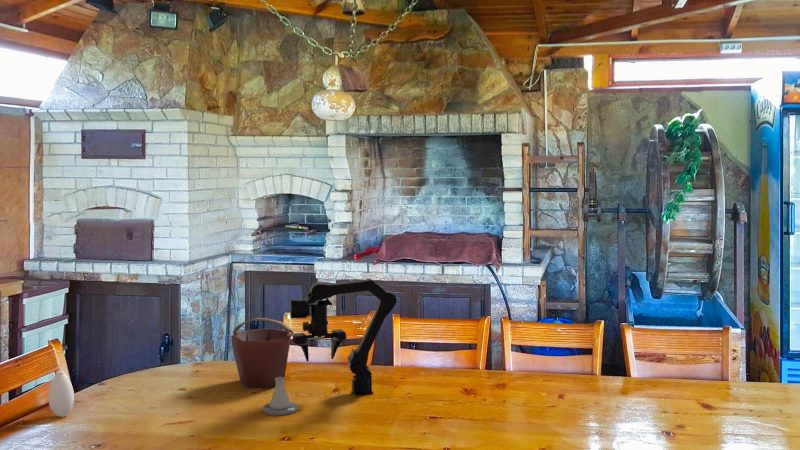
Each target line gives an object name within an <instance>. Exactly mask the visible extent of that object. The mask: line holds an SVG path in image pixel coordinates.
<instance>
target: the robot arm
mask: <svg viewBox="0 0 800 450" xmlns="http://www.w3.org/2000/svg"><path fill="white" fill-rule="evenodd" d="M360 292H369V293H371V294H372V295H373V296H374V297H375V298H377V301H376V305H375V311H374V314H373V315H372V318H371V320H370V322H369V324H368V327H367V329H366V331H365V332H364V335H363V337H362V339H361V341H360V342H359V346H357V348H356V349H354V348H351V350H350V354H349V355H348V357H347V365H348V368H349V370H350V372H351V373H352V374H354V375H352V380H351V392H353V394H354V395H356V397H358V396H366V395H372V394H374V391H373V381H372V379H373V375H372V371H371V370H370V368H369V366H368V361H369V354H370V351H371V349H372V347H373V344H374V342H375V340H376V338H377V337H378V334H379V332H380V330H381V327H382V326H383V324H384V322H385V319H386V317H387V316H388V315H389V314H390V313H391V312H392V311H393V309H394V308H395V306H396V305H397V301H398V300H397V296H396V295H395V294H394V293H393V292H392V291H391V290H389V289H384V288H382V287H381V286H380V285H379V284H377V283H376V282H375V281H374V280H373V279H372V278H366V279H360V280H353V281H352V280H351V281H343V282H327V281H316V282H314V283H312V284H311V286H310V292H309V293H308V294H307V295H306V297H305V299H290V307H289V311H290V312H289V314H290V319H291V320H294V319H299V320H300V319H307V317H309V316H311V317H310V321H303V322H302V331H303V332H298V333H297V332H296V333H294V334H293V335H292V337H291V338H292V339H291V340H292V342H293V343H294V344H295V345H297V346H299V347H300V348H301V350H302V352H303V355H304V357H305V361H306V362H307V363H309V360H310V359H309V358H310V357H309V344H308V343H307V342H308V341H317V340H325V339H326V340H327V339H330V341H331V345H330V346H331V349H330V359H331V360H334V358H335V355H336V353H337V350H338V349H339V347H340V345H341V343H343V342H344V341H345V340H347V332H346V331H345V330H343V329H341V328H340V329H332V330H331V332H329V331H328V325H329V321H328V306H333V302H332V301H331V300H330V299H329V298H332V297H334V296H337V295H344V294H353V293H360ZM310 314H311V315H310ZM309 322H310V323H309ZM304 332H307V334H305V333H304Z"/></svg>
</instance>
